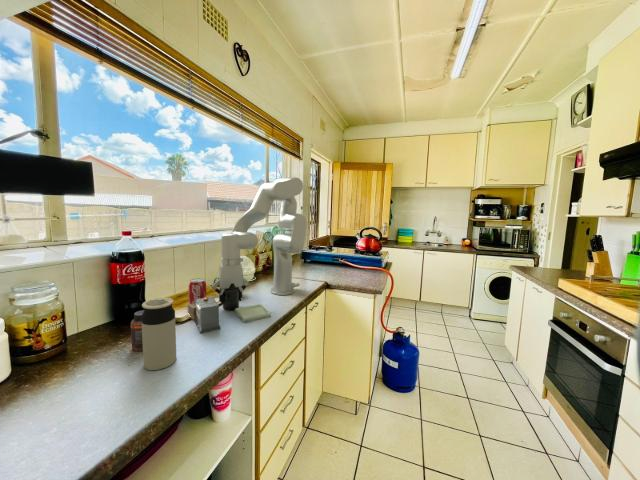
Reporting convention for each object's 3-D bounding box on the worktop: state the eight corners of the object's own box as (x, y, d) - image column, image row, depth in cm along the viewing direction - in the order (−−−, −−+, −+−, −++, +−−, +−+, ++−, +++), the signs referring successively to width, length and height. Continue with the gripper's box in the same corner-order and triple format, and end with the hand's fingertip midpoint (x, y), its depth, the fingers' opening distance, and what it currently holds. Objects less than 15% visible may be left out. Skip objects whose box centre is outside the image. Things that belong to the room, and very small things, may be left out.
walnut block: (200, 313, 108) (200, 301, 107) (206, 316, 105) (206, 304, 104) (188, 316, 104) (187, 304, 104) (193, 320, 101) (193, 308, 100)
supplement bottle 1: (157, 347, 81) (155, 312, 80) (134, 354, 77) (132, 318, 76) (151, 339, 85) (150, 307, 84) (129, 346, 81) (128, 312, 80)
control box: (214, 317, 104) (213, 294, 103) (220, 328, 95) (220, 303, 94) (194, 321, 100) (194, 297, 99) (200, 333, 91) (199, 306, 90)
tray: (260, 307, 116) (260, 303, 116) (270, 316, 107) (270, 312, 107) (235, 312, 110) (235, 308, 110) (243, 322, 101) (243, 318, 100)
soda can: (209, 305, 116) (209, 279, 114) (195, 310, 110) (194, 283, 108) (200, 302, 119) (200, 277, 118) (185, 306, 113) (185, 280, 112)
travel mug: (158, 374, 69) (156, 309, 66) (136, 367, 71) (133, 305, 69) (182, 357, 76) (181, 299, 74) (161, 352, 79) (159, 295, 76)
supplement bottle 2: (229, 304, 118) (229, 278, 117) (242, 306, 116) (242, 281, 114) (219, 309, 112) (219, 282, 110) (232, 312, 110) (232, 285, 108)
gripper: (247, 258, 119) (247, 295, 122) (207, 261, 110) (208, 302, 112) (253, 261, 113) (253, 300, 115) (211, 265, 103) (211, 307, 106)
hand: (230, 301), depth 114 cm, fingers closed on supplement bottle 2, 6 cm apart
